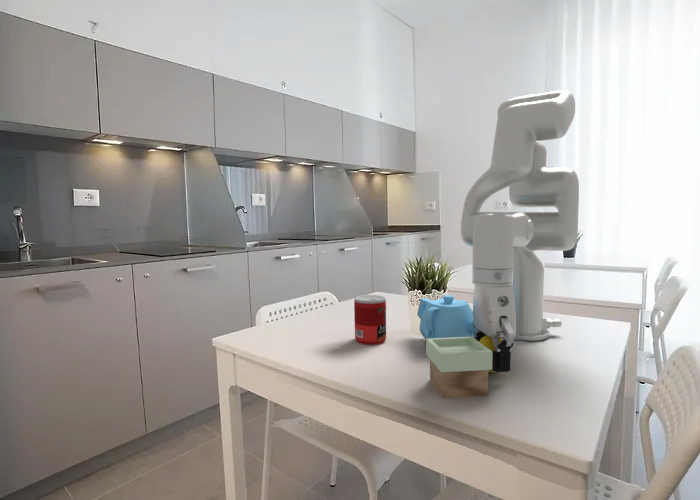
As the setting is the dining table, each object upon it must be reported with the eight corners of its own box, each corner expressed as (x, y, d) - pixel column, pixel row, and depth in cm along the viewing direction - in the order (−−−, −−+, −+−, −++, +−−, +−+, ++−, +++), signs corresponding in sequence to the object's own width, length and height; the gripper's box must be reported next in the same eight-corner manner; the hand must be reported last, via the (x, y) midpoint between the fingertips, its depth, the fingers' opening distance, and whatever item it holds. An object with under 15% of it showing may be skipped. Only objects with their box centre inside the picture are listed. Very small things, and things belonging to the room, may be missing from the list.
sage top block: (471, 352, 80) (471, 336, 80) (492, 369, 71) (492, 351, 71) (426, 354, 79) (426, 338, 79) (441, 372, 70) (441, 354, 70)
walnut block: (470, 378, 80) (470, 353, 80) (487, 396, 72) (488, 369, 72) (430, 381, 79) (430, 355, 79) (443, 399, 71) (443, 371, 71)
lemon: (502, 380, 79) (503, 339, 78) (473, 374, 82) (473, 334, 81) (508, 370, 83) (509, 331, 83) (480, 365, 86) (481, 328, 86)
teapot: (397, 341, 104) (396, 295, 103) (439, 329, 114) (439, 286, 113) (464, 362, 88) (465, 308, 87) (506, 346, 99) (506, 297, 98)
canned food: (384, 346, 100) (384, 301, 99) (352, 344, 102) (351, 300, 101) (387, 336, 108) (387, 295, 107) (357, 335, 109) (357, 294, 108)
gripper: (534, 283, 72) (531, 379, 74) (492, 270, 90) (490, 348, 91) (492, 284, 72) (491, 381, 73) (458, 271, 89) (457, 349, 91)
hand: (491, 362), depth 82 cm, fingers open, 8 cm apart
